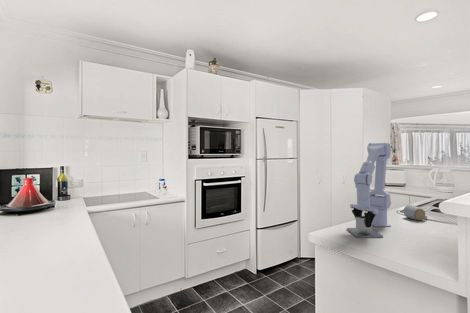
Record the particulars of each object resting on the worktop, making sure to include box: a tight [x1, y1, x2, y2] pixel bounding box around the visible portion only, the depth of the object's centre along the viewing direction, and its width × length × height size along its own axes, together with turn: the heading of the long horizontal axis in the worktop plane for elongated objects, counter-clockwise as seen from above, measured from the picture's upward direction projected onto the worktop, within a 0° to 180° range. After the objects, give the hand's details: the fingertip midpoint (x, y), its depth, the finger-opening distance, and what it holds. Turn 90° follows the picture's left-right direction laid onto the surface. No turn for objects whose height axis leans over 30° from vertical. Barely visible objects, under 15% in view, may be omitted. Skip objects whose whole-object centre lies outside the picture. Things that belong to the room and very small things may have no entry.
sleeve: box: [355, 215, 373, 232], centre depth 124 cm, size 5×5×6 cm
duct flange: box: [346, 227, 384, 239], centre depth 124 cm, size 12×12×5 cm
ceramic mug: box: [403, 204, 428, 221], centre depth 146 cm, size 11×8×8 cm
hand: (363, 225), depth 124 cm, fingers closed on sleeve, 5 cm apart
